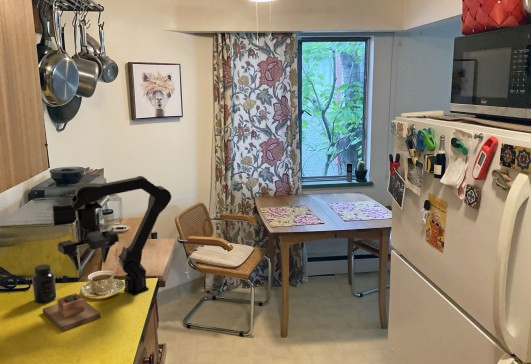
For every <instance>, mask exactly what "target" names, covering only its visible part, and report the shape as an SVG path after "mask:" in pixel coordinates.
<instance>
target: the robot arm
mask: <svg viewBox="0 0 531 364" xmlns="http://www.w3.org/2000/svg"><path fill="white" fill-rule="evenodd" d="M137 190H142V191H143V192H146V193H147V194H148V195H149V197H148V202H147V209H146V211H145V213H144V215H143V218H142V219H141V221H140V224H139V226H138V228H137V230H136V232H135V234H134V236H133V238H132V241H131V243H130V244H129V245H128V247H125V246H123V247H122V249H121V253H120V254H119V255H118V256H117V257H118V258H119V259H118V263H119V266H120V267H121V269H122V271H123V272H124V273H125V279H124V288H123V289H124V291H126V292H128V293H129V294H130V295H133V296H134V295H137V294H141V293H143V292H146V291H149V290H150V289H149V287H147V277H146V275H147V270H146V268H145V267H144V265H143V264H142V263H141V262H142V257H143V256H142V255H143V249H144V247H146V243H147V241H148V239H149V238H150V237H149V236H150V235H151V233H152V231H153V229H154V226H155V224H156V222H157V219H158V217H159V215H160V214H161V213H162V212H163V211H164V210H165V209H166V207H168V204H169V203H170V202H171V200H172V194H171V192H170V191H169V190H168V189H166V188H165V187H163V186H162V185H155V184H153V183H152V182H151V181H149V180H148V179H147V178H146V177H145V176H143V175H138V176H135V177H131V178H126V179H119V180H115V181H110V182H105V183H97V182H95V183H94V182H93V183H92V182H89V183H87V182H86V183H80V184H78V185H77V186H76V187H75V190H74V195H73V197H72V198H71V199H70V201H69V203H67V204H65V203H64V204H53V205H52V215H51V216H52V223H53V227H60V226H67V225H73V224H74V223H75V222H77V224H76V228H77V229H78V236H77V239H78V241H73V240H70V239H69V240H64V241H60V242H58V244H57V251H58V252H60V253H61V254H62V255H66V256H68V257H69V259H70V260H71V263H72V264H73V266H74V269H76V271H79V270H80V268H79V267H80V266H79V259H78V253H79V252H78V251H77V249H79V248H82V247H85V246H88V247H89V248H90V249H91V250H95V251H96V250H97V249H100V253H101V254H100V255H101V260H102V263H104V264H106V261H107V258H108V255H109V252H110V249H111V248H112V247H113V246H115V245H116V243H118V242H120V237H119V234H118V233H117V232H114V231H112V230H104V231H101V230H100V226H99V224H98V221H97V220H98V219H97V209H101V208H103V206H102V205H101V203H99V202H98V201H99V200H102V198H105V197H108V196H112V195H118V194H122V193H123V194H124V193H126V192H127V193H128V192H132V191H137ZM76 212H77V214H76Z"/></svg>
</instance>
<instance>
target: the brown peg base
mask: <svg viewBox="0 0 531 364" xmlns="http://www.w3.org/2000/svg"><path fill="white" fill-rule="evenodd" d="M66 296H67V303H68V302H71V301H74V297H73V295H72V294H69V295H66ZM84 310H85V311H83V312H80V313H77V314H74V315H71V316H68V317H64V316H63V315H62V314H61V313H60V312H59V311H58V304H57V303H55V304H52V305H49V306H45V307H43V308H42V313H43V314H44V315H45V317H47V318H48V319H49V321H51V322H52V323H53V324H54V325H55V326H56V327H57V328H58V329H59V330H60V332H65V331H68V330H70V329H72V328H76V327H78V326H81V325H83V324H86V323H89V322H92V321H95V320H98V319H101V318H102V315H101V312H100V311H99V310H97V309H96V308H95V307H94V306H92V305H91V304H90V303H89V302H87V301H86V300H85V299H84Z"/></svg>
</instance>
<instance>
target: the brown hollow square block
mask: <svg viewBox="0 0 531 364" xmlns="http://www.w3.org/2000/svg"><path fill="white" fill-rule="evenodd" d="M71 295H73V297H74V301H71V302H68V303H67V296H68V295H66V296H63V297H59V298H57V299H56V304H58V311H59V312H60V313H61V314H62V315H63V316H64V317H68V316H71V315H74V314H77V313H80V312H83V311H85V310H84V300H85V299H84V298H82V297H81V296H80V295H79V294H78V293H76V292H75V293H72V294H71Z"/></svg>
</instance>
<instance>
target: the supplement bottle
mask: <svg viewBox="0 0 531 364" xmlns="http://www.w3.org/2000/svg"><path fill="white" fill-rule="evenodd" d="M31 281H32V290H33V298H34V302H35V303H36V304H38V305H39V304H41V305H42V304H48V303H52V302H53V301H55V300H56V298H57V289H56V278H55V273H54V272H52V269H51V265H50V264H45V263H44V264H40V265H36V266H35V267H34V275H33V276H32V278H31Z"/></svg>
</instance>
